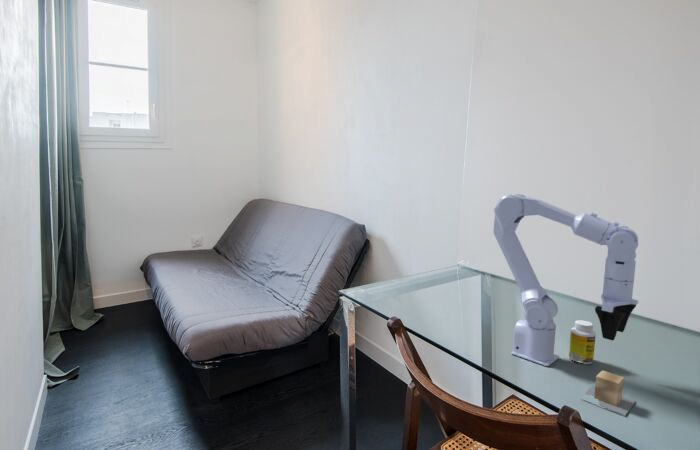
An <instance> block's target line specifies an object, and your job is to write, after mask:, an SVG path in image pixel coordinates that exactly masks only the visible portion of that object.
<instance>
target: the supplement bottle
mask: <svg viewBox="0 0 700 450" xmlns="http://www.w3.org/2000/svg"><path fill="white" fill-rule="evenodd" d="M593 329H594V325H593V323H592V322H590V321H587V320H581V319H578V320H575V321H574V327H572V328H571V329H570V336H569V337H570V338H569V348H568V358H569V360H571V361H572V360H573V361H572V362H574V361H580V362H582V363H584V364H583V365H591V364H592V363H593V362H594V356H595V347H596V346H595V345H596V335H597V334H596V332H595V331H594V330H593Z"/></svg>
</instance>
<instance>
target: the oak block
mask: <svg viewBox="0 0 700 450" xmlns="http://www.w3.org/2000/svg"><path fill="white" fill-rule="evenodd" d="M624 380H625V377H624V376H620V375H618V374H614V373H611V372H608V371H606V370H601V371H600V372H599V373H598V374H597V375H596V376H595V383H594V384H595V385H594V386H595V395H594V398H595V399H598V400H600V401H603V402H605V403H608V404H610V405H613V406H617V405H618V404H619V403H620V401H621V400H622V396H623V394H624V393H623V392H624V391H623V390H624V383H625V382H624Z"/></svg>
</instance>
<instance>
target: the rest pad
mask: <svg viewBox="0 0 700 450" xmlns="http://www.w3.org/2000/svg"><path fill="white" fill-rule="evenodd" d="M584 394H586V395H589V396H590V395H592V396H594V395H595V385H592V386H591V387H590V388H589V389H588V390H587V391H586V392H585V393H584ZM598 401H599V405H600V406H602V407H605V408H607V409H610V410H612V411H614V412H616V413H615V414H617V413H618V414H617V415H619V414H621V415H620V416H622V415H623V417H624V416H625V417H626V416H627V415H626V414H629V412H630V410H631V409H632V408H633V406H634V404H635V403H636V402H637V401H636V400H634V399H632V398H630V397H627V396H624V395H622V400H621V401H620V403H619V404H618V405H617V406H613V405H610V404H608V403H605V402H603V401H600V400H598ZM607 409H606V410H607ZM612 411H611V412H612ZM614 412H613V413H614Z"/></svg>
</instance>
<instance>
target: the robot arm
mask: <svg viewBox="0 0 700 450" xmlns="http://www.w3.org/2000/svg"><path fill="white" fill-rule="evenodd" d="M493 211H494V221H493V231H492V232H493V235H494V237H495V239H496V241H497V243H498V245H499V247H500V251H501V252H502V254H503V257H504V259H505V260H506V263H507V266H508V267H509V269H510V271H511V273H512V275H513V278H514V280H515V282H516V284H517V286H518V288H519V291H520V293H521V304H522V306H523V309H524V313H523V314H524V318H525V319H518V321H517V322H516V323H515V326H514V330H513V340H512V341H513V343H512V351H511V355H514V356H515V357H519V358H522V359H525V360H527V361H530V362H533V363H535V364H539V365H542V366H544V367H549V366H550V365H552V364H553V363H554V362H556V361H557V360H558V359H560V355H558V354H554V353H555V344H556V328H557V324H556V323H555V320H554V318H555V317H556V316H557V314H558V312H559V309H558V308H559V307H558V304H557V303H556V301H555V299H552V298H551V297H550V295H549V293H548V292H547V290H546V289H545V288H544V287H542V285H541V283H540V281H539V279H538V277H537V275H536V272H535V270H534V269H533V267H532V264H531V262H530V261H529V258H528V257H527V254H526V252H525V250H524V248H523V246H522V244H521V241H520V240H519V237H518V235H517V234H516V230H517V229H518V226H519V225H520V222H521V221H522V219H524V218H525V217H528V216H529V217H530V216H540V217H543V218H546V219H549V220H551V221H553V222H557V223H559V224H561V225H562V224H563V225H565V226H567V227H570V228H571V230H572V233H573V234H574V235H576V236H578V237H581V238H583V239H586V240H588V241H589V242H593V243H595V244H597V245H600V246H606V247H607V256H606V258H605V265H604V274H603V275H604V276H603V288H602V294H601V296H600V297H601V300H602V302H601V303H602V304H601V306H599V305H597V306H595V308H594V311H595V314H596V316H597V317H598V320H599V324H600V328H601V335H602V338H603V339H606V340H609V341H615V339H616V336H617V333H618V332H619V333H623V332H624V331H625V329H626V326H627V323H628V321H629V319H630V316H631V314H632V312H633V311H634V310H635V308H636V306H637V305H638V304H639V300H637V299H634V298H633V294H634V293H633V292H634V282H635V281H634V280H635V275H636V274H635V273H636V265H637V264H636V262H637V261H636V260H635V259H636V257H637V253H636V250H637V249H638V246H639V236H638V234H637V233H636V232H635V230H633V229H632V228H630V227H628V226H626V225H623V226H622V225H621V226H620V223H619V222H617V221H615V222H614V223H613V222H611V221H608V220H606V219H603V218H601V217H598V214H597V213H595V212H590V214H589V213H588V212H584V213H581V214H575V213H572V212H570V211H568V210H565V209H563V208H561V207H558V206H556V205H554V204H552V203H549V202H546V201H544V200H541V199H539V198H535V197H531V196H526V195H524V194H521V193H520V194H519V193H518V194H517V193H516V194H506V195H504V196H503V195H502V196H501V198H500V199H499V200H498V202H497V204H496V205H495V207H494V209H493Z"/></svg>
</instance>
